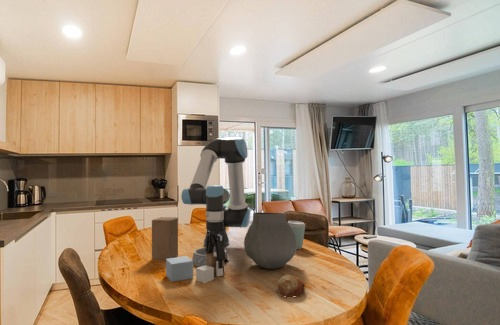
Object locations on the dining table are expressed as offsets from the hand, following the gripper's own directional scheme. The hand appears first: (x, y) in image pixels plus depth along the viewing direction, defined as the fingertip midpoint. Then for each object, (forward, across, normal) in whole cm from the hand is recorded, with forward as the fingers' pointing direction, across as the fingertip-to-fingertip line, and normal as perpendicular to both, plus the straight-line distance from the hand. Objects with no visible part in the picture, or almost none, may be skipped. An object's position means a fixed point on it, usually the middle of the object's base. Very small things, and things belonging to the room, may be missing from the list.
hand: (215, 272), depth 135 cm
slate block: (0, -3, -15) cm, 15 cm away
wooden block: (0, -36, -13) cm, 38 cm away
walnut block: (0, 0, 0) cm, 0 cm away
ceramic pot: (0, +4, +26) cm, 26 cm away
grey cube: (0, +6, -7) cm, 9 cm away
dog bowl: (+1, -18, +5) cm, 19 cm away
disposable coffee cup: (0, -17, +57) cm, 60 cm away
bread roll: (+1, +34, +16) cm, 38 cm away
